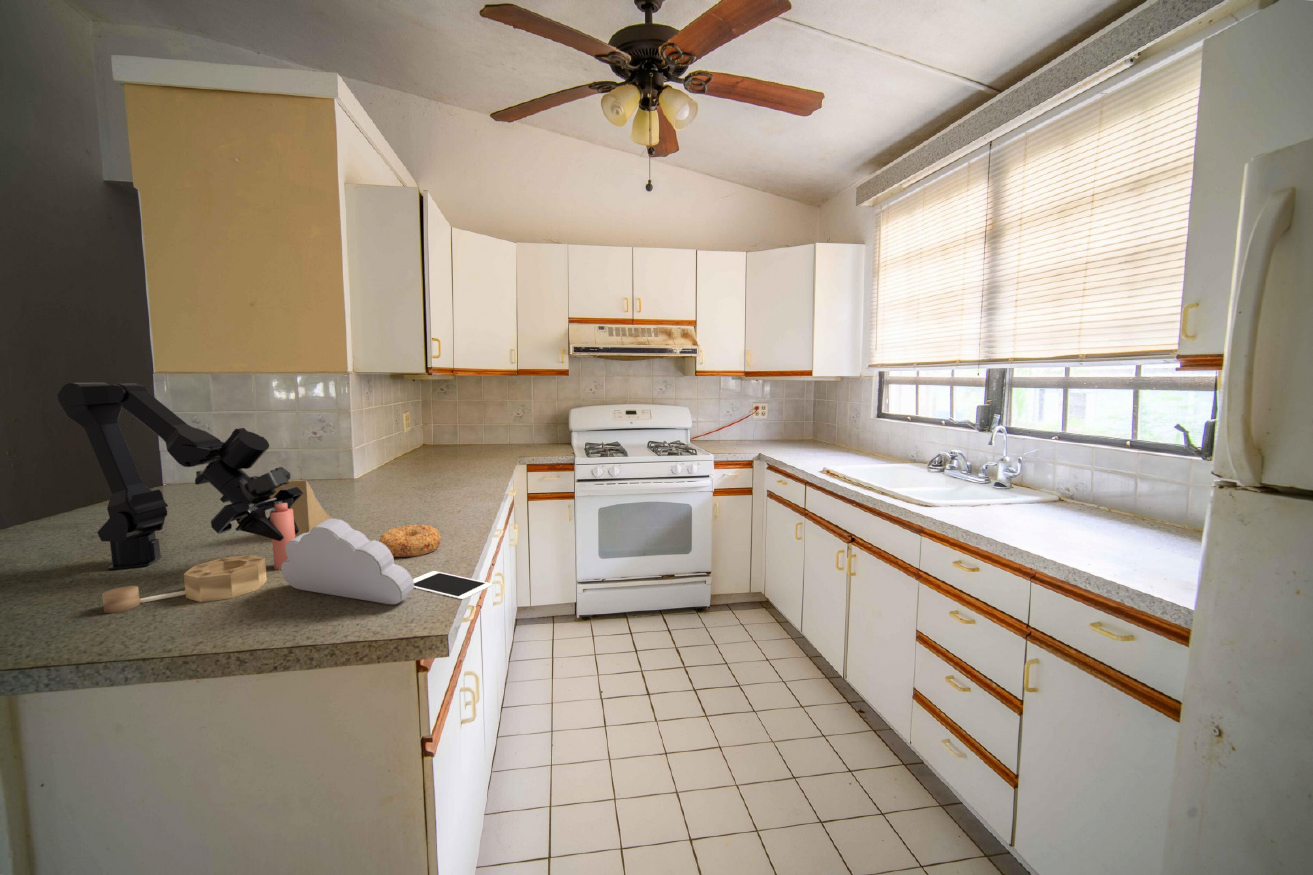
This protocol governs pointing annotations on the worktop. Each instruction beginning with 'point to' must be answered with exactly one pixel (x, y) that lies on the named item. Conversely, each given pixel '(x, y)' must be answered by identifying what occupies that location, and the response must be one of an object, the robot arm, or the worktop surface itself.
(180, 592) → the white thin stick
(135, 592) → the small bead
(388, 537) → the bagel
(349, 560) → the decorative item
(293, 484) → the sandwich container
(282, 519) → the pink bottle
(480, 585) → the cell phone
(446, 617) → the worktop surface
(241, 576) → the bead
